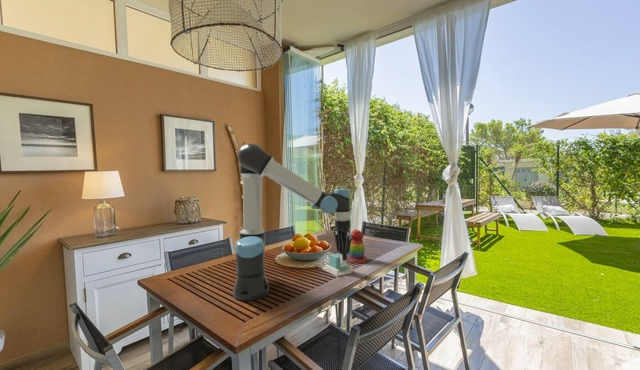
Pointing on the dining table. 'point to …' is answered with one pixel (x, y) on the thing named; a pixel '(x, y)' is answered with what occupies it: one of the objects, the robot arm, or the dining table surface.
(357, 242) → the stacking bear
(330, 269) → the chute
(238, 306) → the dining table surface
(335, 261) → the block
